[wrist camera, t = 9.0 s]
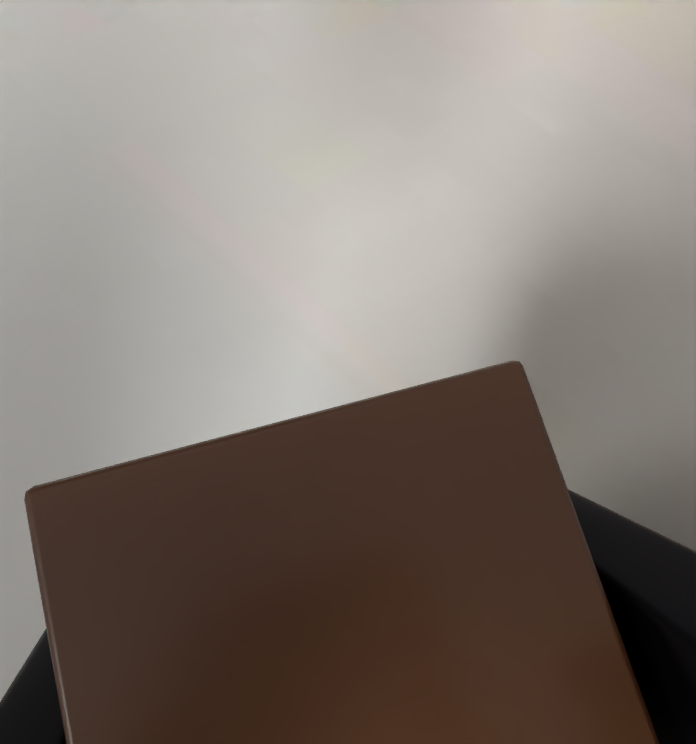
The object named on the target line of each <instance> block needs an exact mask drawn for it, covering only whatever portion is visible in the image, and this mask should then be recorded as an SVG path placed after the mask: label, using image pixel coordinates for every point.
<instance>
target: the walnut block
mask: <svg viewBox="0 0 696 744" xmlns="http://www.w3.org/2000/svg"><path fill="white" fill-rule="evenodd" d="M24 501H25V507H26V512H27V518H28V524H29V530H30V536H31V542H32V548H33V553H34V559H35V565H36V571H37V577H38V583H39V588H40V594H41V600H42V606H43V612H44V618H45V623H46V629H47V635H48V641H49V647H50V653H51V658H52V664H53V670H54V676H55V682H56V688H57V693H58V699H59V705H60V711H61V717H62V723H63V729H64V734H65V740H66V744H660V743H659V740H658V738H657V735H656V732H655V729H654V727H653V724H652V721H651V718H650V716H649V713H648V710H647V707H646V704H645V702H644V699H643V696H642V693H641V691H640V688H639V685H638V682H637V680H636V677H635V674H634V671H633V669H632V666H631V663H630V660H629V658H628V655H627V652H626V649H625V647H624V644H623V641H622V638H621V635H620V633H619V630H618V627H617V624H616V622H615V619H614V616H613V613H612V611H611V608H610V605H609V602H608V600H607V597H606V594H605V591H604V589H603V586H602V583H601V580H600V578H599V575H598V572H597V569H596V566H595V564H594V561H593V558H592V555H591V553H590V550H589V547H588V544H587V542H586V539H585V536H584V533H583V531H582V528H581V525H580V522H579V520H578V517H577V514H576V511H575V509H574V506H573V503H572V500H571V497H570V495H569V492H568V489H567V486H566V484H565V481H564V478H563V475H562V473H561V470H560V467H559V464H558V462H557V459H556V456H555V453H554V451H553V448H552V445H551V442H550V440H549V437H548V434H547V431H546V428H545V426H544V423H543V420H542V417H541V415H540V412H539V409H538V406H537V404H536V401H535V398H534V395H533V393H532V390H531V387H530V384H529V382H528V379H527V376H526V373H525V371H524V368H523V366H522V364H521V363H520V362H518V361H508V362H505V363H501V364H497V365H493V366H489V367H486V368H482V369H478V370H474V371H470V372H467V373H463V374H459V375H455V376H451V377H448V378H444V379H440V380H436V381H432V382H429V383H425V384H421V385H417V386H413V387H409V388H406V389H402V390H398V391H394V392H390V393H387V394H383V395H379V396H375V397H371V398H368V399H364V400H360V401H356V402H352V403H349V404H345V405H341V406H337V407H333V408H330V409H326V410H322V411H318V412H314V413H311V414H307V415H303V416H299V417H295V418H291V419H288V420H284V421H280V422H276V423H272V424H269V425H265V426H261V427H257V428H253V429H250V430H246V431H242V432H238V433H234V434H231V435H227V436H223V437H219V438H215V439H212V440H208V441H204V442H200V443H196V444H193V445H189V446H185V447H181V448H177V449H173V450H170V451H166V452H162V453H158V454H154V455H151V456H147V457H143V458H139V459H135V460H132V461H128V462H124V463H120V464H116V465H113V466H109V467H105V468H101V469H97V470H94V471H90V472H86V473H82V474H78V475H75V476H71V477H67V478H63V479H59V480H55V481H52V482H48V483H44V484H40V485H36V486H33V487H32V488H30V489H29V490H28V491H26V493H25V499H24Z"/></svg>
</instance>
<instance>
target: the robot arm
mask: <svg viewBox="0 0 696 744" xmlns="http://www.w3.org/2000/svg"><path fill="white" fill-rule="evenodd" d="M568 492H569V495H570V497H571V500H572V503H573V506H574V509H575V511H576V514H577V517H578V520H579V522H580V525H581V528H582V531H583V533H584V536H585V539H586V542H587V544H588V547H589V550H590V553H591V555H592V558H593V561H594V564H595V566H596V569H597V572H598V575H599V578H600V580H601V583H602V586H603V589H604V591H605V594H606V597H607V600H608V602H609V605H610V608H611V611H612V613H613V616H614V619H615V622H616V624H617V627H618V630H619V633H620V635H621V638H622V641H623V644H624V647H625V649H626V652H627V655H628V658H629V660H630V663H631V666H632V669H633V671H634V674H635V677H636V680H637V682H638V685H639V688H640V691H641V693H642V696H643V699H644V702H645V704H646V707H647V710H648V713H649V716H650V718H651V721H652V724H653V727H654V729H655V732H656V735H657V738H658V740H659V743H660V744H696V552H695V551H693V550H691V549H689V548H687V547H685V546H683V545H681V544H679V543H677V542H675V541H673V540H671V539H669V538H667V537H665V536H663V535H660V534H658V533H656V532H654V531H652V530H650V529H648V528H646V527H644V526H642V525H640V524H638V523H636V522H634V521H632V520H630V519H628V518H626V517H624V516H621V515H619V514H617V513H615V512H613V511H611V510H609V509H607V508H605V507H603V506H601V505H599V504H597V503H595V502H593V501H591V500H589V499H587V498H585V497H583V496H580V495H578V494H576V493H574V492H572V491H570V490H568ZM0 744H66V740H65V734H64V729H63V723H62V717H61V711H60V705H59V699H58V693H57V688H56V682H55V676H54V670H53V664H52V658H51V653H50V647H49V641H48V635H47V629H45V631H44V633H43V634H42V636H41V637H40V639H39V641H38V642H37V644H36V645H35V647H34V649H33V650H32V652H31V653H30V655H29V657H28V658H27V660H26V661H25V663H24V665H23V666H22V668H21V670H20V671H19V673H18V674H17V676H16V678H15V679H14V681H13V682H12V684H11V686H10V687H9V689H8V690H7V692H6V694H5V695H4V697H3V698H2V700H1V702H0Z"/></svg>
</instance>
